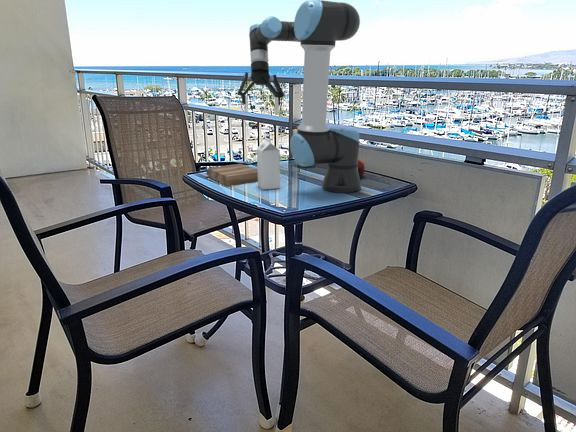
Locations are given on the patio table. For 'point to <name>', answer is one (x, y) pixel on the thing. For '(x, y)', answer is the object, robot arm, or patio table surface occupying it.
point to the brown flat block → (233, 174)
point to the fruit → (361, 167)
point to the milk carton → (268, 165)
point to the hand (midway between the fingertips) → (261, 112)
